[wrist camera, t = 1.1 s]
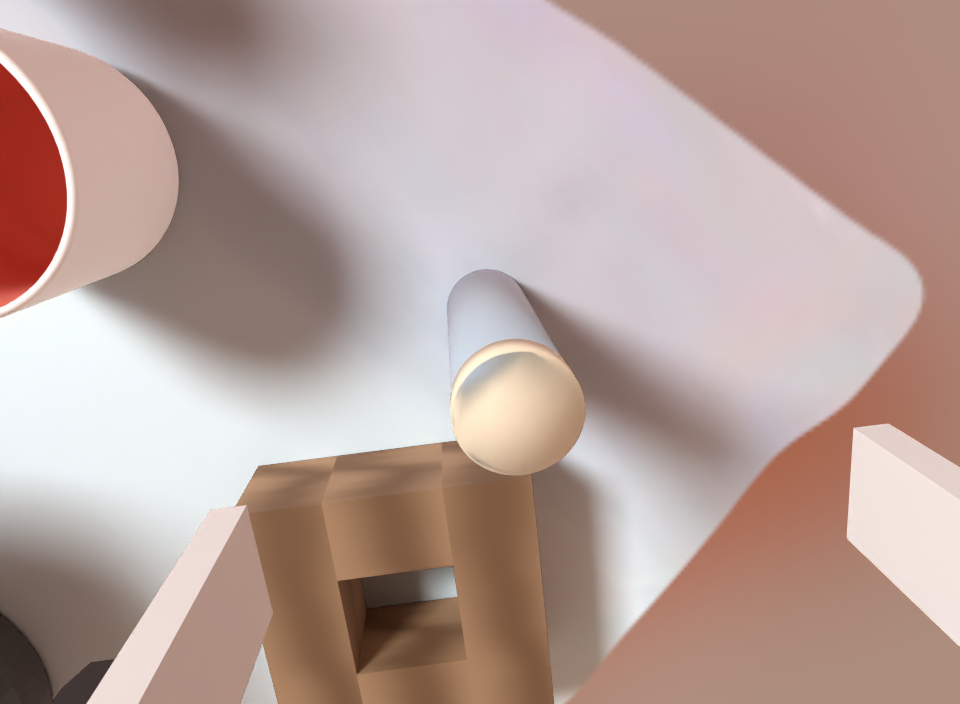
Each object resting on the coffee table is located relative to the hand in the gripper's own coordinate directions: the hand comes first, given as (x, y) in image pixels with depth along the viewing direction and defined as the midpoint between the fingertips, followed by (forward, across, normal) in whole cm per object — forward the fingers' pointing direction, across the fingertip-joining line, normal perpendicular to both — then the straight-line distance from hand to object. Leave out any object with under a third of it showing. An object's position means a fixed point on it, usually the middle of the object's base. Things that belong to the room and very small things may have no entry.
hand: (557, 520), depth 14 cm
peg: (+20, 0, 0) cm, 20 cm away
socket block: (+20, -6, -14) cm, 25 cm away
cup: (+20, -18, +9) cm, 29 cm away
